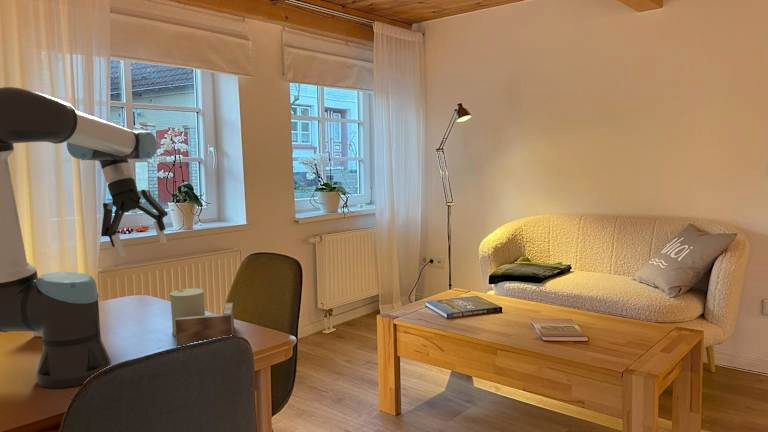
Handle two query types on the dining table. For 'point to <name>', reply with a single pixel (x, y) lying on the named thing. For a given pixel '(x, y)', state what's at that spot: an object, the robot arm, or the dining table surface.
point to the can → (186, 304)
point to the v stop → (204, 326)
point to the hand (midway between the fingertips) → (142, 249)
